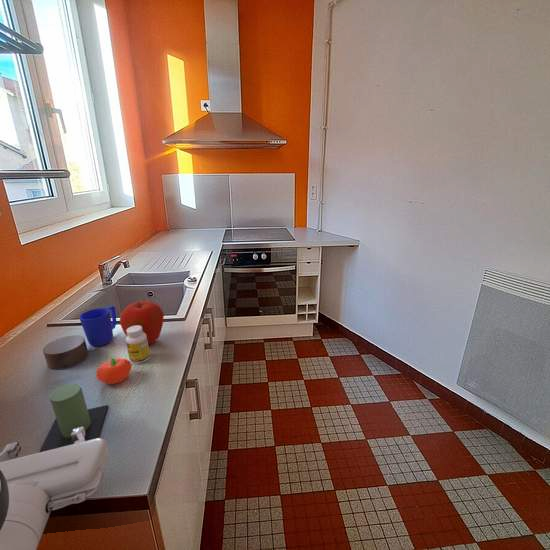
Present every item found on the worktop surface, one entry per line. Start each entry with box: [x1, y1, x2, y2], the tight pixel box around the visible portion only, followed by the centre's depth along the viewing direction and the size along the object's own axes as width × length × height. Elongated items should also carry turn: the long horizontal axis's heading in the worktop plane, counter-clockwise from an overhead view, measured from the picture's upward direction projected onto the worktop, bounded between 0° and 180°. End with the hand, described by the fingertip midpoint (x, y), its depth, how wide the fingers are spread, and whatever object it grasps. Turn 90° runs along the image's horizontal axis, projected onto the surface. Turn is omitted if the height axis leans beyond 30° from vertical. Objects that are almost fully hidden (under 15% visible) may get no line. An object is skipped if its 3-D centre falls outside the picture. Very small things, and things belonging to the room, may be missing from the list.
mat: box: [38, 404, 109, 453], centre depth 63 cm, size 10×10×1 cm
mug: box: [78, 305, 117, 347], centre depth 96 cm, size 8×12×10 cm
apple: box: [119, 300, 165, 345], centre depth 92 cm, size 12×12×14 cm
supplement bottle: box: [125, 325, 151, 365], centre depth 85 cm, size 5×5×10 cm
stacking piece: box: [49, 382, 91, 438], centre depth 61 cm, size 5×5×9 cm
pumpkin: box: [95, 357, 133, 385], centre depth 77 cm, size 7×8×6 cm
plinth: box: [42, 334, 90, 371], centre depth 86 cm, size 10×10×5 cm
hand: (48, 437), depth 51 cm, fingers open, 8 cm apart
